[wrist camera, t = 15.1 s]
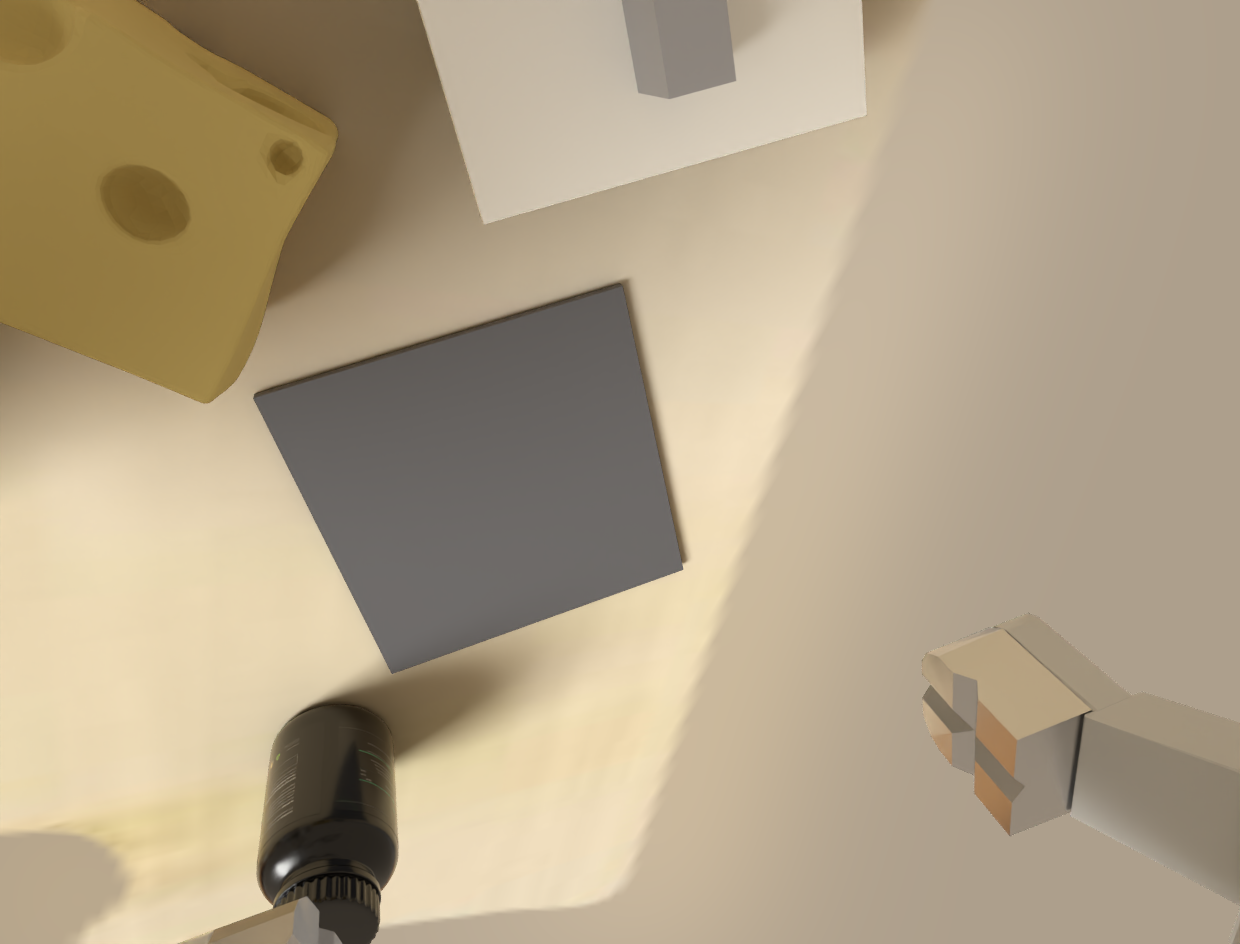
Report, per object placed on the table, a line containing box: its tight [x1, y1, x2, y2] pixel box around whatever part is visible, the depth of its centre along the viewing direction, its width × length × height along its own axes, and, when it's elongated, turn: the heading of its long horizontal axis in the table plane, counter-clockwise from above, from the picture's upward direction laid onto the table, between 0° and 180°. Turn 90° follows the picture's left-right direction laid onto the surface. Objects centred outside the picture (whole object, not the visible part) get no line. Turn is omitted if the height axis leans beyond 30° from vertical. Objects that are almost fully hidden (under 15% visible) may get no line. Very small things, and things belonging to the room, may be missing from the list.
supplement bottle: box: [257, 704, 398, 944], centre depth 43 cm, size 7×7×12 cm
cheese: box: [0, 0, 338, 403], centre depth 28 cm, size 10×11×10 cm
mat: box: [253, 284, 683, 674], centre depth 43 cm, size 18×18×1 cm
